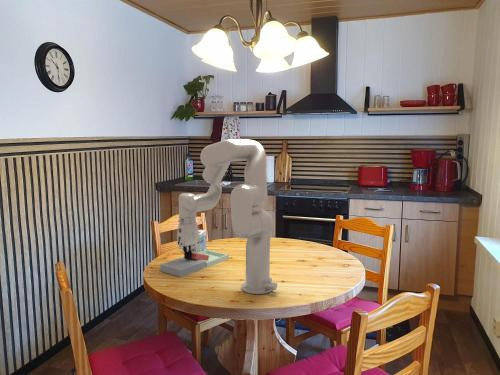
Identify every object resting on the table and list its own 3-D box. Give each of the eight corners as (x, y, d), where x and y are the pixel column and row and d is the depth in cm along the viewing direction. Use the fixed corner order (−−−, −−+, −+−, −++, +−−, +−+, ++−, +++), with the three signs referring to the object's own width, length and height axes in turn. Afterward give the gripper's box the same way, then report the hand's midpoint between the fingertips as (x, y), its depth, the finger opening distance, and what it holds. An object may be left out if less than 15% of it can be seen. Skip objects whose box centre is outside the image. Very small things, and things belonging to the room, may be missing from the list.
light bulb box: (200, 254, 200) (200, 234, 199) (188, 254, 201) (188, 233, 200) (207, 249, 210) (207, 229, 209) (195, 248, 212) (195, 229, 211)
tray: (228, 258, 193) (228, 254, 193) (206, 267, 180) (206, 262, 180) (206, 253, 202) (206, 249, 201) (184, 261, 189) (184, 257, 188)
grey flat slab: (205, 267, 180) (205, 261, 180) (180, 277, 167) (180, 270, 167) (185, 262, 188) (185, 256, 187) (160, 271, 175) (160, 264, 174)
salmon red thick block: (208, 260, 186) (209, 255, 187) (195, 259, 179) (196, 254, 180) (199, 258, 190) (200, 253, 190) (186, 256, 183) (187, 251, 183)
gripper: (181, 224, 170) (182, 264, 172) (204, 218, 182) (204, 256, 184) (169, 221, 174) (170, 261, 176) (192, 216, 186) (193, 253, 188)
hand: (187, 258), depth 180 cm, fingers closed
